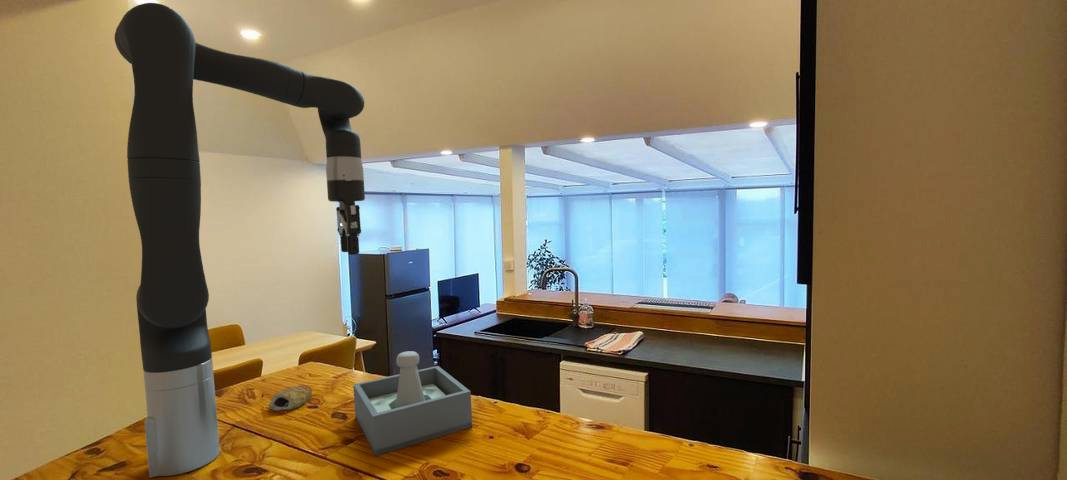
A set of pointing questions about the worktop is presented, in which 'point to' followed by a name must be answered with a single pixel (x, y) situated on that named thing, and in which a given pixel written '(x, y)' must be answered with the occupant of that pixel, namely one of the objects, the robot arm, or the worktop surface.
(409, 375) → the salt shaker
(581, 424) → the worktop surface
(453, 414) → the bore box
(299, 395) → the ridged seashell
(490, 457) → the worktop surface
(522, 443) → the worktop surface
